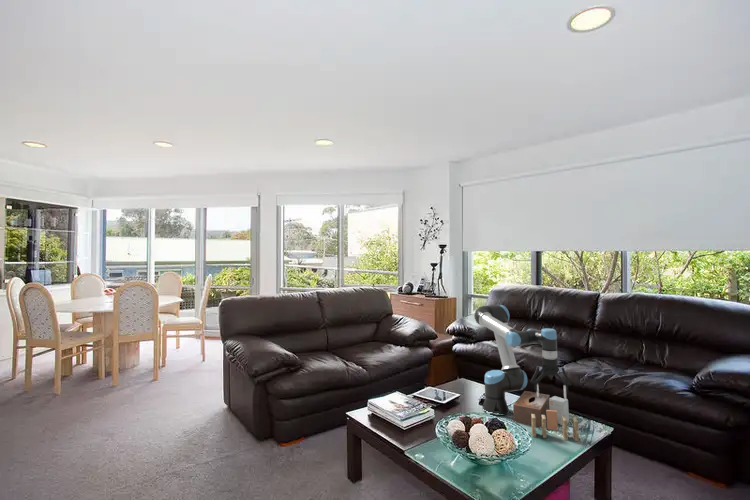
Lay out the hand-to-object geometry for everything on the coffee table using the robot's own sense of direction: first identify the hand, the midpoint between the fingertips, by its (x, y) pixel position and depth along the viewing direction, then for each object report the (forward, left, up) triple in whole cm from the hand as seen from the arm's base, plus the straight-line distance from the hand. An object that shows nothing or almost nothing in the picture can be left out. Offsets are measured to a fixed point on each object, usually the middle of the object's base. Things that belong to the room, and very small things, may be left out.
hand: (551, 397), depth 212 cm
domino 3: (+9, -4, -17) cm, 20 cm away
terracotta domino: (0, 0, -17) cm, 17 cm away
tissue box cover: (-16, +7, -18) cm, 25 cm away
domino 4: (+13, -1, -17) cm, 22 cm away
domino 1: (-3, -13, -17) cm, 22 cm away
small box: (-2, +11, -18) cm, 21 cm away
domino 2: (+1, -10, -17) cm, 20 cm away
